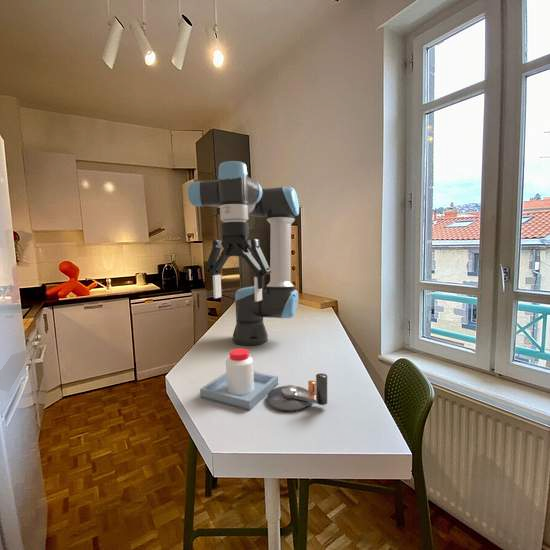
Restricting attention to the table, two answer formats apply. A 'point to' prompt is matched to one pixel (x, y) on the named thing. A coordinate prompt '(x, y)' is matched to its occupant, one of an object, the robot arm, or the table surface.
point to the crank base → (293, 404)
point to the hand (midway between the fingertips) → (237, 299)
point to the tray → (248, 401)
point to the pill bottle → (240, 372)
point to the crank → (319, 398)
